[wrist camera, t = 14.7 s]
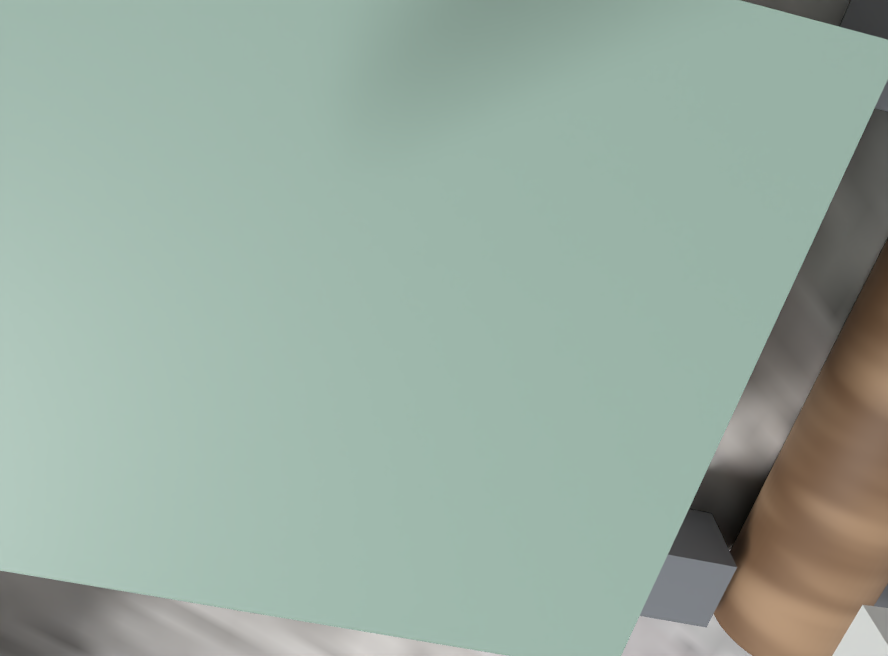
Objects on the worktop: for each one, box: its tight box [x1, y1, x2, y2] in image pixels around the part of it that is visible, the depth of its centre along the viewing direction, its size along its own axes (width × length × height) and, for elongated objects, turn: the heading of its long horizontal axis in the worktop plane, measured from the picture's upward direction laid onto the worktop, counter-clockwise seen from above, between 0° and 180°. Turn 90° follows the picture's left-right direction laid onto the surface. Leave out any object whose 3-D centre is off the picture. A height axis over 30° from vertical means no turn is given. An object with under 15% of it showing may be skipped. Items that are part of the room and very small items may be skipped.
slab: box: [0, 0, 888, 656], centre depth 20 cm, size 18×28×3 cm, turn 77°
